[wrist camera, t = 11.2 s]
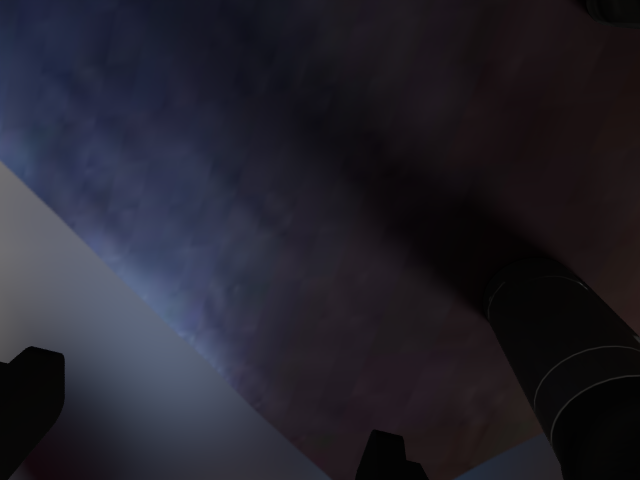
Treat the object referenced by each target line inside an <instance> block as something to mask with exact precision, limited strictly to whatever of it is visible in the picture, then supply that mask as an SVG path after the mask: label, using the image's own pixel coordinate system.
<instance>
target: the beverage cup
mask: <svg viewBox="0 0 640 480" xmlns="http://www.w3.org/2000/svg"><path fill="white" fill-rule="evenodd" d="M586 6H587V9H588V12H589V14H590V16H591V17H592V18H593V19H594V20H595V21H596V22H598V23H600V24H602V25H610V26H613V27H623V28H635V29H640V0H586Z"/></svg>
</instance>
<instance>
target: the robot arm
mask: <svg viewBox="0 0 640 480" xmlns="http://www.w3.org/2000/svg"><path fill="white" fill-rule="evenodd" d="M483 309H484V313H485V315H486V317H487V319H488V321H489V323H490V325H491V327H492V329H493V331H494V333H495V335H496V338H497V340H498V342H499V344H500V346H501V348H502V350H503V352H504V354H505V356H506V358H507V360H508V362H509V364H510V366H511V368H512V370H513V372H514V374H515V376H516V378H517V380H518V382H519V384H520V386H521V388H522V390H523V392H524V394H525V395H526V397H527V399H528V401H529V403H530V405H531V407H532V409H533V411H534V413H535V415H536V417H537V419H538V421H539V423H540V425H541V427H542V429H543V431H544V433H545V435H546V437H547V439H548V441H549V443H550V445H551V447H552V449H553V451H554V453H555V454H556V457H557V459H558V461H559V463H560V465H561V471H562V475H563V479H564V480H640V337H639V336H638V335H637V334H636V333H635V332H634V331H633V330H632V329H631V328H630V327H629V326H628V325H627V324H626V323H625V322H624V321H623V320H622V319H621V318H620V317H619V316H618V315H617V314H616V313H615V312H614V311H613V310H612V309H611V308H610V307H609V306H608V305H607V304H606V303H605V302H604V301H603V300H602V299H601V298H600V297H599V296H598V295H597V294H596V293H595V292H594V291H593V290H592V289H591V288H590V287H589V286H588V285H587V284H586V283H585V282H583V281H579V280H578V279H577V278H576V277H575V276H574V275H573V274H572V273H571V272H570V271H569V270H568V269H567V268H566V267H564V266H563V265H562V264H560V263H558V262H556V261H554V260H550V259H546V258H528V259H522V260H519V261H516V262H513V263H511V264H509V265H508V266H506V267H504V268H503V269H501V270H500V271H499V272H498V273H496V274H495V276H494V277H493V278H492V279H491V280H490V282H489V283H488V285H487V287H486V289H485V292H484V296H483ZM64 373H65V359H64V355H63V354H62V353H58V352H54V351H49V350H46V349H41V348H37V347H33V346H31V347H28V348H26V349H25V350H23V351H22V352H21V353H20V354H19V355H18V356H16V357H15V358H14V359H13V360H12V361H11V362H10V363H8V364H7V363H3V362H0V480H8V479H9V478H10V476H11V475H12V474H13V473H14V472H15V471H16V469H17V468H18V467H19V466H20V465H21V463H22V462H23V461H24V460H25V459H26V457H27V456H28V455H29V454H30V453H31V451H32V450H33V449H34V448H35V447H36V445H37V444H38V443H39V442H40V441H41V439H42V438H43V437H44V436H45V434H46V433H47V432H48V431H49V430H50V428H51V427H52V426H53V425H54V423H55V422H56V420H57V419H58V417H59V415H60V413H61V411H62V408H63V405H64V399H65V394H64V393H65V374H64ZM355 480H429V479H428V477H427V475H426V474H425V472H424V470H423V468H422V466H421V464H420V463H416V462H412V461H407V460H406V455H405V446H404V440H403V437H402V436H399V435H395V434H391V433H387V432H383V431H378V430H372V432H371V434H370V437H369V439H368V442H367V445H366V448H365V450H364V453H363V456H362V458H361V461H360V464H359V467H358V469H357V473H356V477H355Z"/></svg>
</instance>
